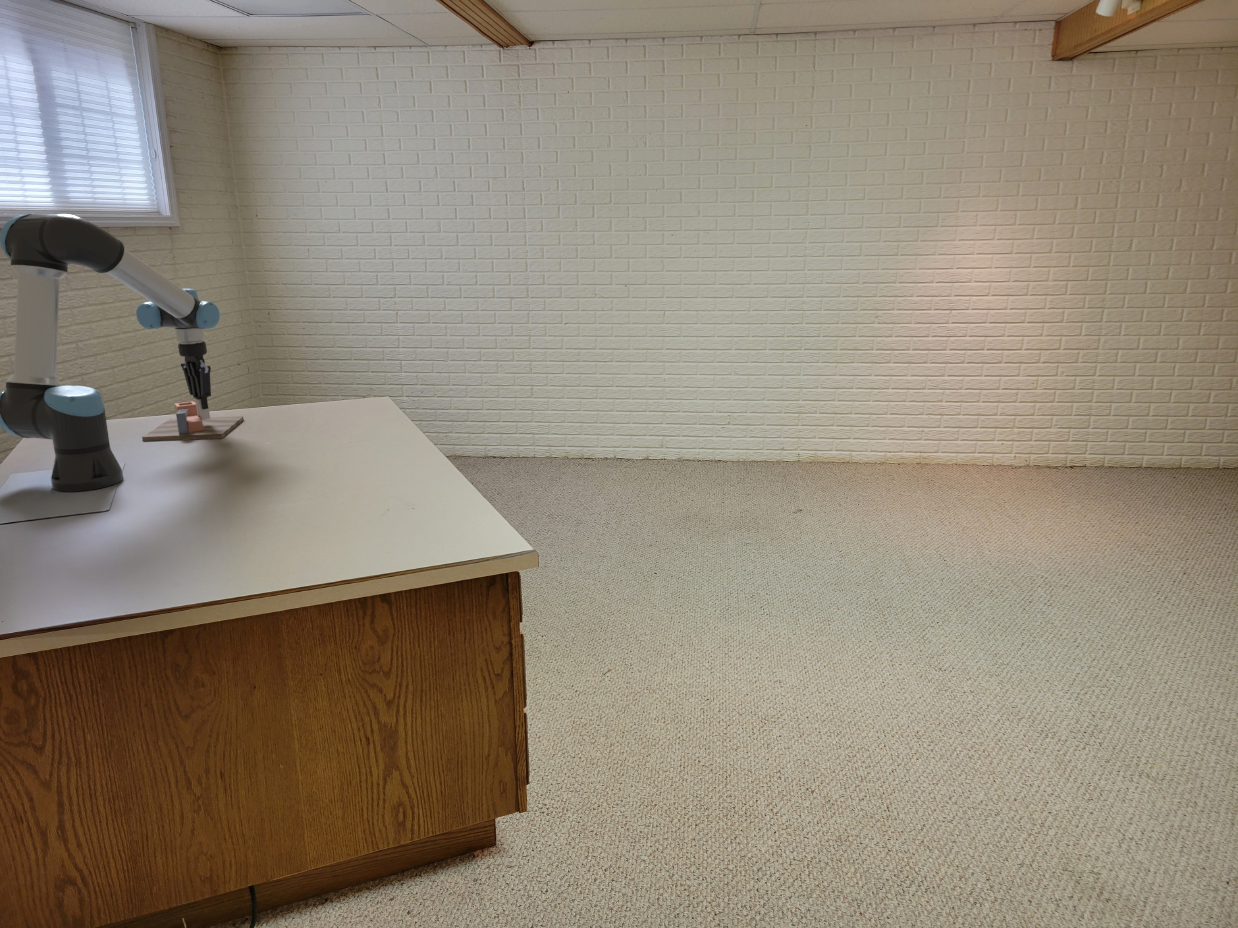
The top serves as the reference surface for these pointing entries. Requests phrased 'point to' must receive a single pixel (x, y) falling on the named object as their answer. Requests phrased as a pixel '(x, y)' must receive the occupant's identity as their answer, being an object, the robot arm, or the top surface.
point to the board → (212, 429)
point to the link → (191, 416)
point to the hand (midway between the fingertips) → (204, 418)
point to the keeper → (182, 421)
